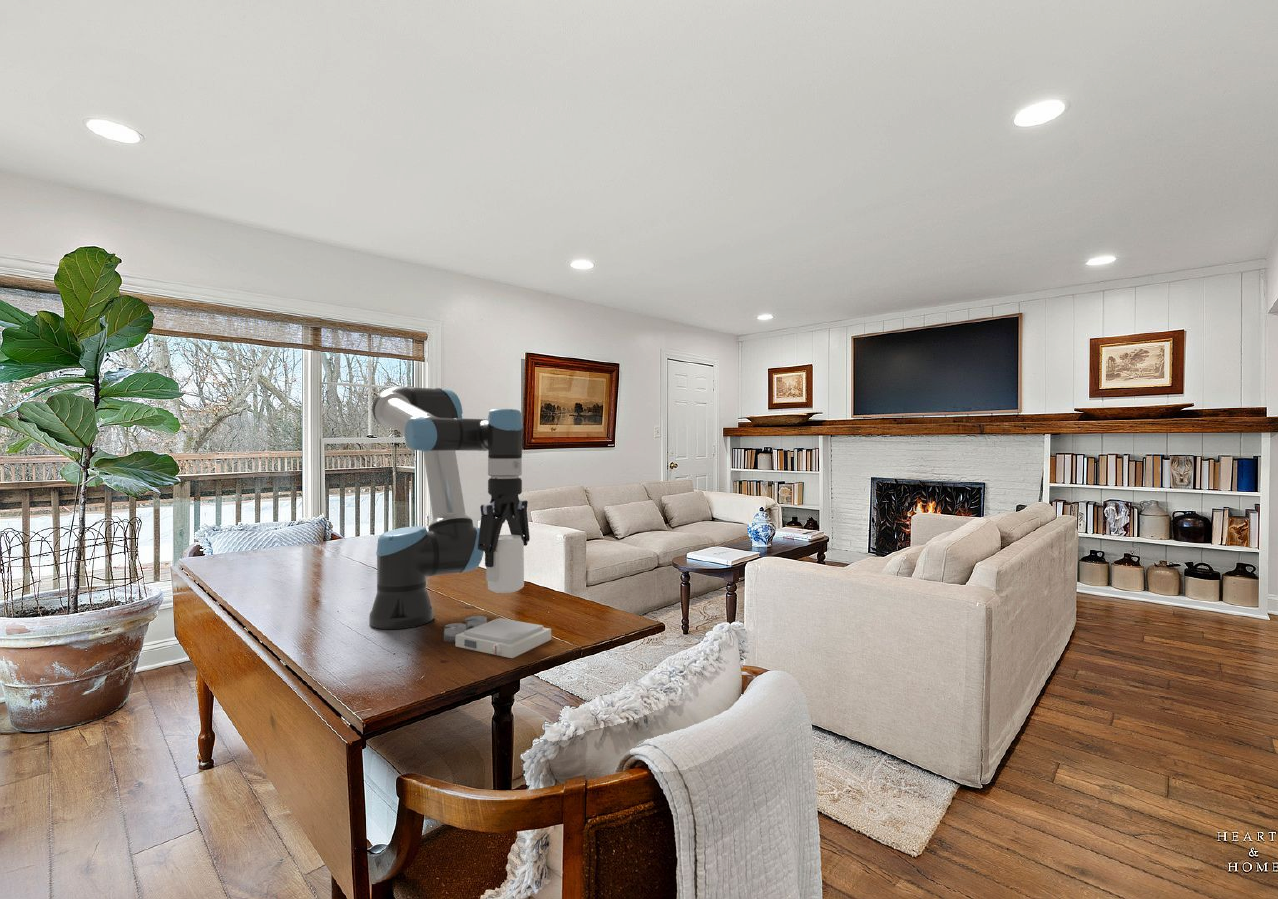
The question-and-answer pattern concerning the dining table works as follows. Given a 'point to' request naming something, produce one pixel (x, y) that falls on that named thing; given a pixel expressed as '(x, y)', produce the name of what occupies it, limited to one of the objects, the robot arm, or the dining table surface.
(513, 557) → the beverage can
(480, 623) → the spacer
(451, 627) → the spacer
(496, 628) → the scale
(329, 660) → the dining table surface
